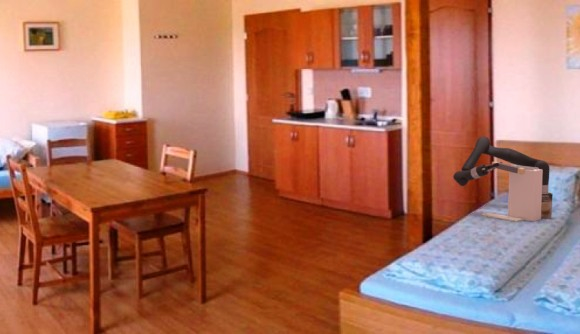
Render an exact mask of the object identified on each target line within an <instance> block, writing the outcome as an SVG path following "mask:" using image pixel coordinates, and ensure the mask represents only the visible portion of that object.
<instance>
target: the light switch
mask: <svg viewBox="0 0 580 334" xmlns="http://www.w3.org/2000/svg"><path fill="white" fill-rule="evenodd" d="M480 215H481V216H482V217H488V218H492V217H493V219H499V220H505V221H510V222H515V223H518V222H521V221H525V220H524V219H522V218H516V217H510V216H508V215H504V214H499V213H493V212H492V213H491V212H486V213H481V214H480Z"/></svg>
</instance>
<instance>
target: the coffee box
mask: <svg viewBox="0 0 580 334" xmlns="http://www.w3.org/2000/svg"><path fill="white" fill-rule="evenodd" d="M553 197H554V195H553V193H551V192H548V193H545V192H542V201H541V219H552V218H553V217H552V214H553Z"/></svg>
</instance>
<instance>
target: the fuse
mask: <svg viewBox="0 0 580 334" xmlns="http://www.w3.org/2000/svg"><path fill="white" fill-rule="evenodd" d="M500 162H501V161H500ZM500 162H499V161H492V162H491V164H495V163H499V166H497V167H494V168H496V169H498V170H502V171H506V172H508V173H509V172H513V173H517V174H521V175H522V174H525V168H521V167H517V165H516V166H515V165H513V164H512V165H511V164H507V163H504V162H502V163H500Z"/></svg>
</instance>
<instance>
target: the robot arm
mask: <svg viewBox="0 0 580 334" xmlns="http://www.w3.org/2000/svg"><path fill="white" fill-rule="evenodd" d="M483 154H484V155H487V156H491V157H493V158H496V159H499V160H501V161H500V163H503V161H504V162H507V163H510V164H512V165H514V166H515V165H516V166H527V167H537V168H539V169H541V170H543V174H542V192H545V193H549V183H550V165H549V163H548V162H547V161H545V160H541V159H537V158H534V157H532V156H531V157H530V156H528V155H526V154H525V153H522V152H520V151H518V150H515V149H513V148H509V147H508V148H507V147H497V146H493V145H491V140H490V138H489V137H487V136H480V137H478V139H477V140H476V143H475V145H474V148H473V150H472V151H471V153H470V155H469V156H468V158H467V159H466V161H465V162H464V164H463V165H462V167H461V169H460V170H459V171H456V172H455V173H454V174H453V176H452V177H453V180H454V181H455V182H456V183H457V184H458V185H459V186H460V187H465V186H467V185H468V183H469V181H473V180H476V179H480V178H482V177H485V176H488V174H489V172H491V171H493V170H496V169H497V168H494V167H497V166H499V163H495V164H492V163H491V164H487V165H486V164H483V163H482V164H479V165H477V163H478V161H479V159H480V157H481V156H482V155H483ZM502 160H503V161H502Z"/></svg>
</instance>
